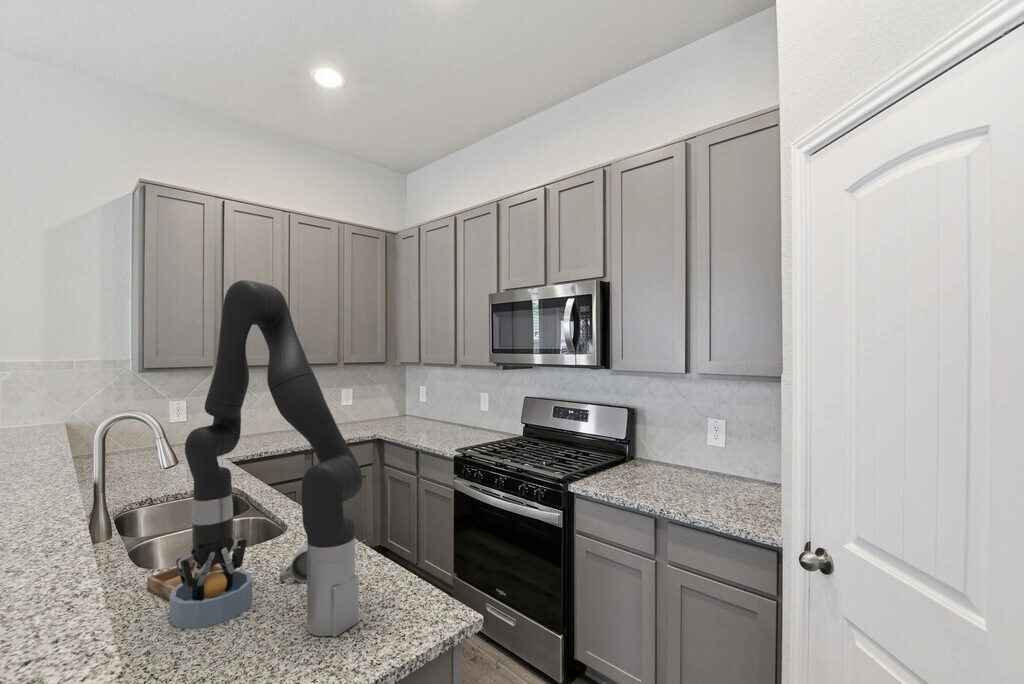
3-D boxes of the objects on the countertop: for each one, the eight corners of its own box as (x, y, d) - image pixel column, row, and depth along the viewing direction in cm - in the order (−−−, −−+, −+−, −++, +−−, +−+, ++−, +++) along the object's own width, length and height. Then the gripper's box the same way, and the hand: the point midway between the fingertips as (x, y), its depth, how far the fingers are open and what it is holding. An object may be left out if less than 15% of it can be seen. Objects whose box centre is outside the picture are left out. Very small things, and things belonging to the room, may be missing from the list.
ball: (232, 594, 106) (232, 570, 106) (207, 605, 101) (207, 580, 101) (218, 589, 108) (218, 565, 109) (193, 599, 104) (193, 575, 104)
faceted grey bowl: (266, 601, 108) (266, 578, 108) (194, 636, 95) (194, 610, 95) (227, 585, 115) (227, 564, 115) (155, 615, 102) (155, 591, 102)
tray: (228, 581, 118) (228, 568, 118) (174, 603, 107) (174, 590, 107) (201, 570, 123) (201, 558, 124) (147, 590, 113) (147, 577, 113)
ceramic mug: (327, 566, 125) (326, 536, 125) (324, 580, 118) (323, 548, 118) (282, 572, 122) (281, 542, 122) (276, 587, 115) (276, 555, 115)
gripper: (186, 531, 97) (187, 616, 97) (255, 510, 110) (255, 586, 109) (167, 525, 101) (167, 607, 100) (235, 505, 113) (235, 578, 113)
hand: (213, 595), depth 105 cm, fingers closed on ball, 5 cm apart
